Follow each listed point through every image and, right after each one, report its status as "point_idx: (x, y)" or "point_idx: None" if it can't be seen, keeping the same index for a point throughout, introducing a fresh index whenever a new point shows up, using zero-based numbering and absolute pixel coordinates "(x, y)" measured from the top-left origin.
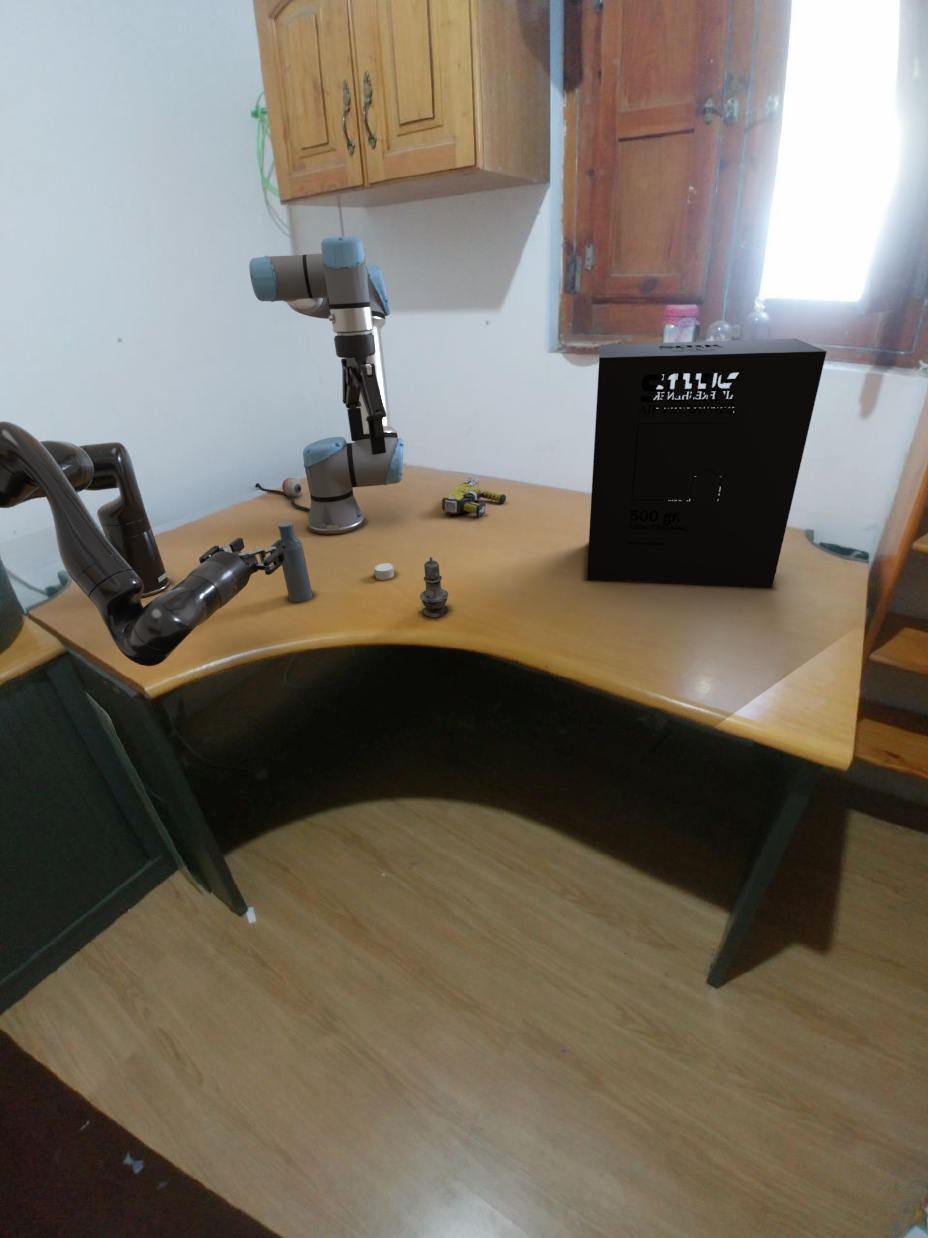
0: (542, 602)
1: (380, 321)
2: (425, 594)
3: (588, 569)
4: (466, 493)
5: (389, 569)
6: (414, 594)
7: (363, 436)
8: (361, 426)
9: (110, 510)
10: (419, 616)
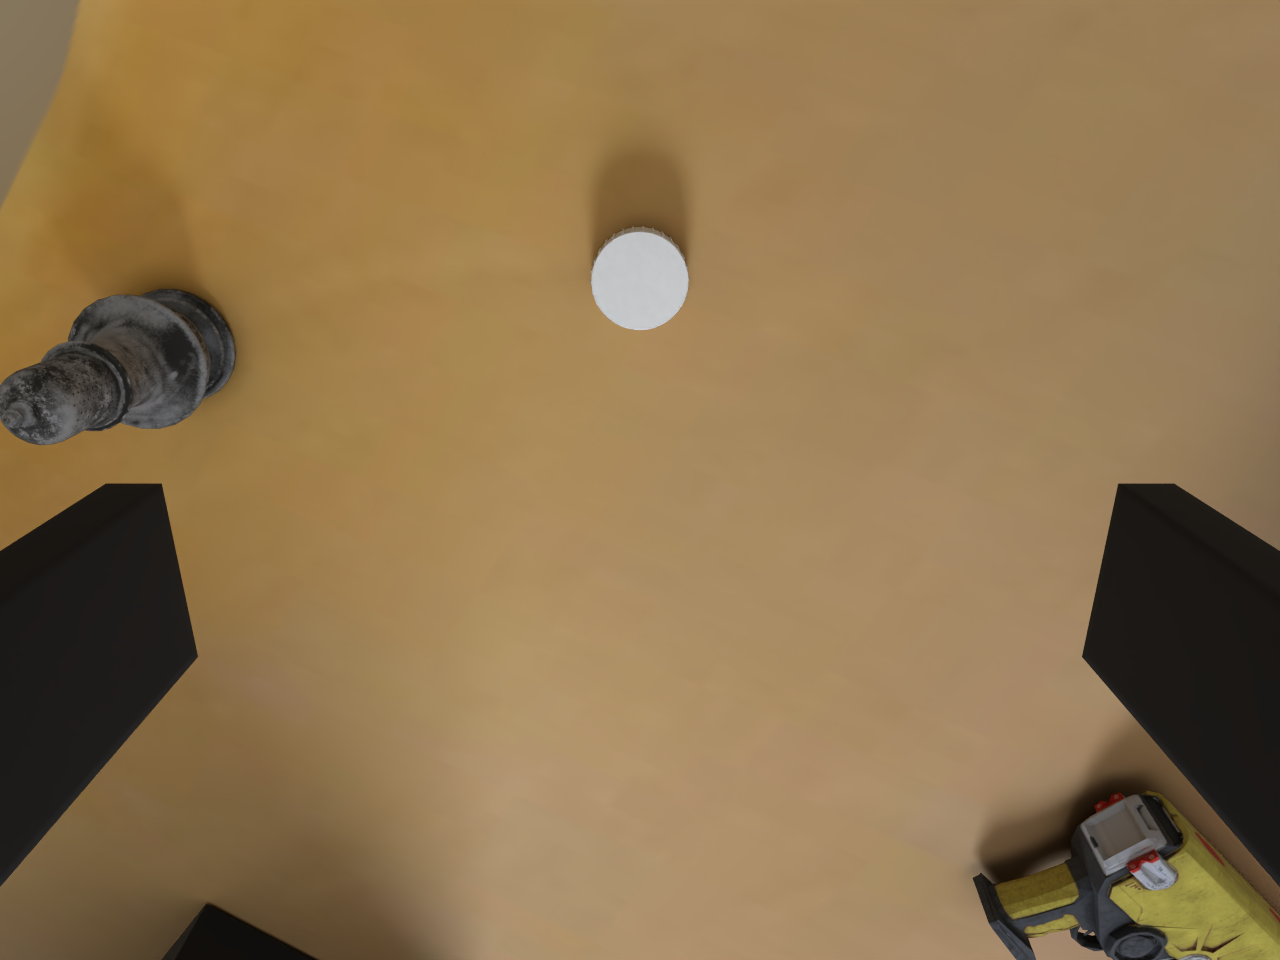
0: None
1: None
2: (120, 324)
3: (184, 940)
4: (1163, 949)
5: (596, 297)
6: (378, 326)
7: (1103, 670)
8: (1197, 762)
9: None
10: (162, 265)
